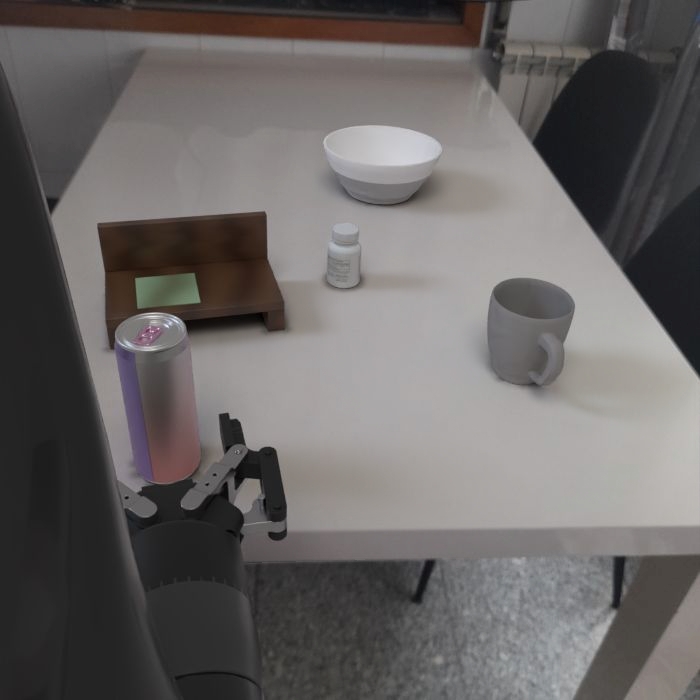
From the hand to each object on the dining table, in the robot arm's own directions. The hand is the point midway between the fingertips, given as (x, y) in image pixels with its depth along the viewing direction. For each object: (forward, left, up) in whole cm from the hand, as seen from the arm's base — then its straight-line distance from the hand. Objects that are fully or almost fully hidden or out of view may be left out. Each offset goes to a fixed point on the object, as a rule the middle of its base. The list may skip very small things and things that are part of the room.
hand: (162, 431), depth 50 cm
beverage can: (0, +11, -14) cm, 18 cm away
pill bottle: (+25, +41, -14) cm, 50 cm away
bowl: (+39, +69, -14) cm, 81 cm away
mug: (+39, +16, -14) cm, 44 cm away
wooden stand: (+5, +37, -14) cm, 40 cm away
